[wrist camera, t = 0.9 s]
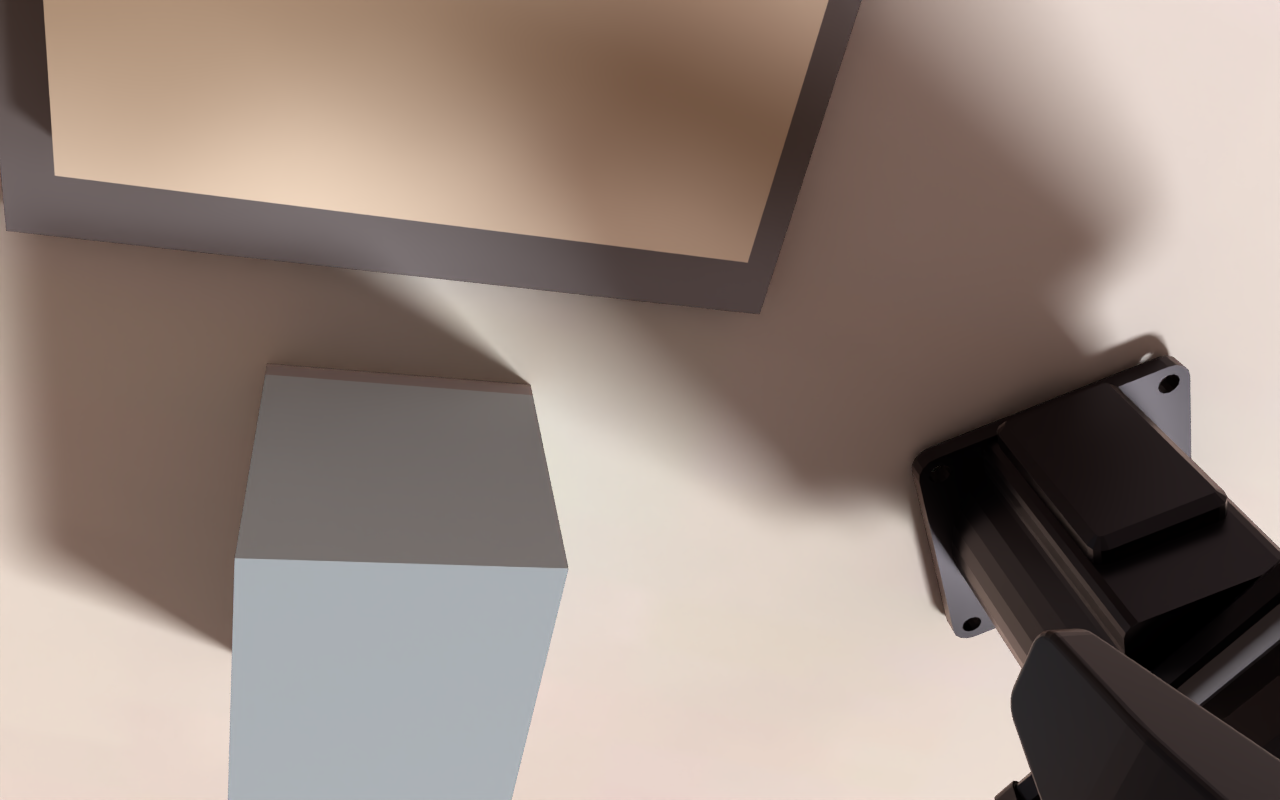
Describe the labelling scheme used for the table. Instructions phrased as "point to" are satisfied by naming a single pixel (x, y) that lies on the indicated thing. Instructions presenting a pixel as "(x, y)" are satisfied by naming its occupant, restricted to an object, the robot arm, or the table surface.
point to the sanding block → (390, 588)
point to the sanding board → (428, 134)
